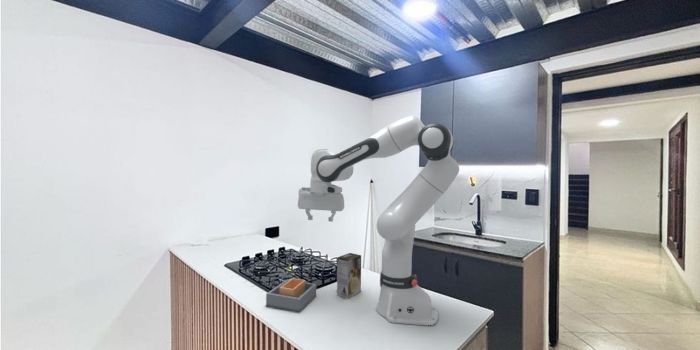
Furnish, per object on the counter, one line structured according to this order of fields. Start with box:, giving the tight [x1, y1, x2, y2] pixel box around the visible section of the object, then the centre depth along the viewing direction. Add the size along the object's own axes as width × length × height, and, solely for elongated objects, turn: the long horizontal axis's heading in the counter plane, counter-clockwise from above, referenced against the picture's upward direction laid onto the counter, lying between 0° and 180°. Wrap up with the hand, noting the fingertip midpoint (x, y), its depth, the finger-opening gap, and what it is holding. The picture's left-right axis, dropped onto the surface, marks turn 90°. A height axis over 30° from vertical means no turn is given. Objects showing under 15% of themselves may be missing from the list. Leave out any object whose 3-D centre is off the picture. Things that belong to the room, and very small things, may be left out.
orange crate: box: [279, 277, 306, 298], centre depth 112 cm, size 6×10×6 cm, turn 163°
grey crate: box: [265, 279, 317, 314], centre depth 113 cm, size 14×15×5 cm
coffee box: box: [336, 252, 362, 299], centre depth 121 cm, size 9×6×16 cm
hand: (320, 220), depth 120 cm, fingers open, 8 cm apart
